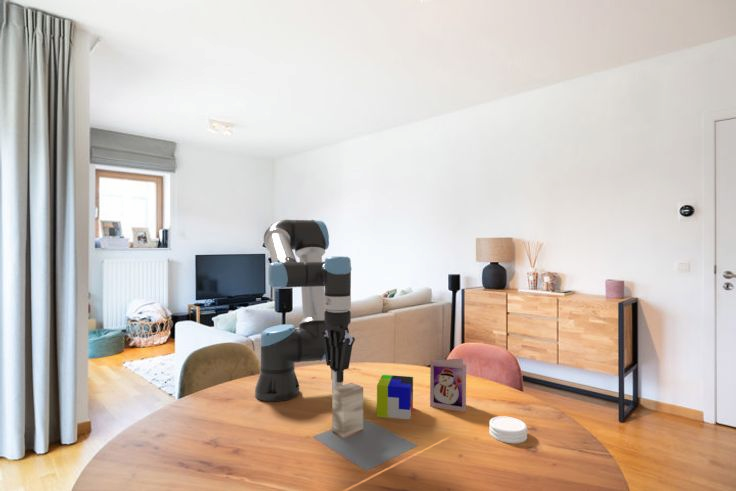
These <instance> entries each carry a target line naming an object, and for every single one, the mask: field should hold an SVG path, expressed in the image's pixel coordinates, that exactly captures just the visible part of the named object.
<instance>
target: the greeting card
mask: <svg viewBox="0 0 736 491" xmlns="http://www.w3.org/2000/svg"><path fill="white" fill-rule="evenodd" d="M429 368H430V372H429V373H430V374H429V375H430V376H429V377H430V378H429V379H430V380H429V381H430V382H429V383H430V384H429V385H430V386H429V388H430V390H429V396H430V397H429V407H432V408H437V409H443V410H444V409H445V410H450V411H456V412H457V411H458V412H462V413H463V412H464V413H466V412H467V364H464V358H448V359H447V358H446V359H432V360H430V367H429Z"/></svg>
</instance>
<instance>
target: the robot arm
mask: <svg viewBox="0 0 736 491" xmlns="http://www.w3.org/2000/svg"><path fill="white" fill-rule="evenodd" d="M329 239H330V234H329V230H328V227H327V225H326V223H325V222H324V221H322V220H316V219H310V220H309V219H282V220H279V221H277V222H275V223H272V224H271V225H270V226H269V227H268V228H266V231H265V232H264V235H263V244H264V247H265V249H266V250H268V252H269V256H270V259H271V263H270V264H268V272H267V277H268V285H269V286H270V287H271V288H279V289H287V288H301V305H302V308H301V309H302V317H303V318H302V320H301V321H300V322H299V324H298V325H299V326H298V327H299V328H296V327H295V325H294V324H285V323H284V324H279V325H274V326H270V327H267V328H266V329H264V330H263V331H262V332H261V335H260V342H259V346H260V369H259V370H260V372H259V376H258V379H257V382H256V386H255V389H254V396H255V398H256V399H258V400H260V401H264V402H283V401H288V400H291V399H294V398H295V397H297V396H298V395H299V394H300V383H299V381H298V377H297V375H296V371H295V363H306V362H316V361H317V362H318V361H319V362H321V361H325V363H326V364H325V365H326V366H329V368H330V370H331V376H330V378H331V390H332V389H333V388H335V387H338V386H342V385H344V384H343V382H344V371H345V370H349V368H350V363H351V356H352V350H353V345H354V343H355V341H356V338H355V337H354V336H352V337H351V336H350V329H349V325H351V323H352V322H351V321H352V320H351V317H352V315H351V314H352V313H351V308H352V295H351V293H352V292H351V290H352V288H351V286H352V285H351V284H352V279H351V278H352V263H351V262H352V261H351V258H350V257H349V256H343V255H341V256H339V255H338V256H337V255H334V256H331V255H330V256H326V257H325V258H324V261H323V256H324V255H325V254H326V250H328V249H329V246H330V241H329ZM293 251H294V252H293ZM294 253H295V254H294ZM296 257H298V258H299V261H297V258H296Z"/></svg>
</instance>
